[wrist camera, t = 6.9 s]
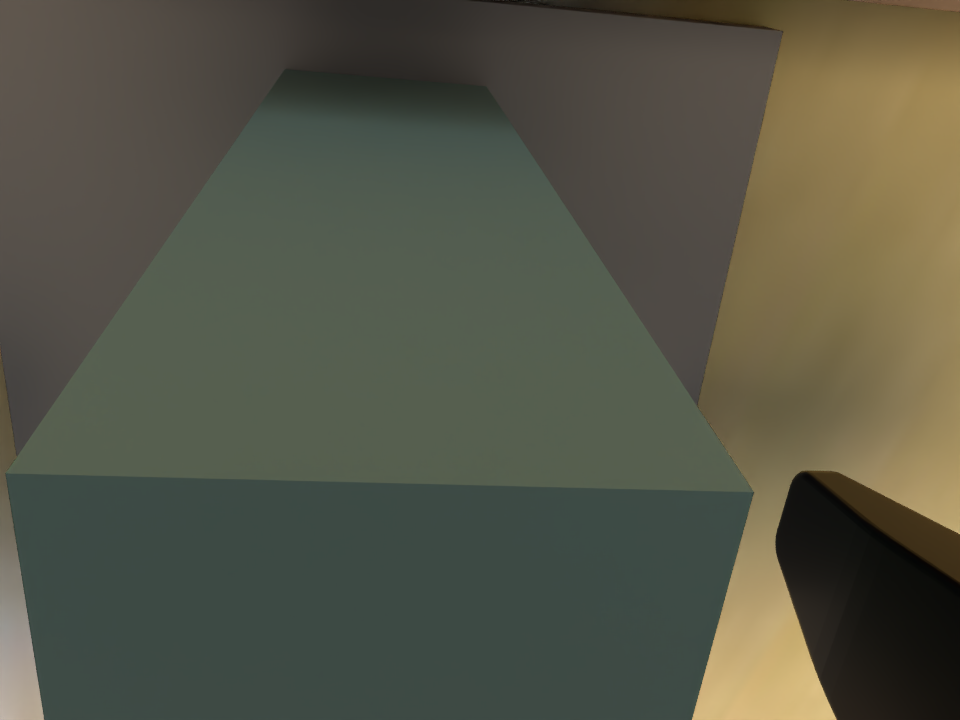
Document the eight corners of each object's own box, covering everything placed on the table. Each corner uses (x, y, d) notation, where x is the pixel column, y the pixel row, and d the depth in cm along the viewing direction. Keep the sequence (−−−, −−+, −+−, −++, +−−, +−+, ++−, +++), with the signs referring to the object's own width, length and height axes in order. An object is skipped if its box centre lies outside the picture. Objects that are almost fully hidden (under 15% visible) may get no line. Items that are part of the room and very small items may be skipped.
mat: (764, 26, 12) (783, 30, 11) (645, 566, 16) (654, 589, 15) (-37, -53, 10) (-60, -52, 10) (48, 558, 14) (35, 582, 14)
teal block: (486, 86, 11) (754, 492, 3) (443, 536, 14) (523, 1336, 6) (285, 68, 11) (4, 473, 3) (284, 533, 14) (148, 1375, 6)
